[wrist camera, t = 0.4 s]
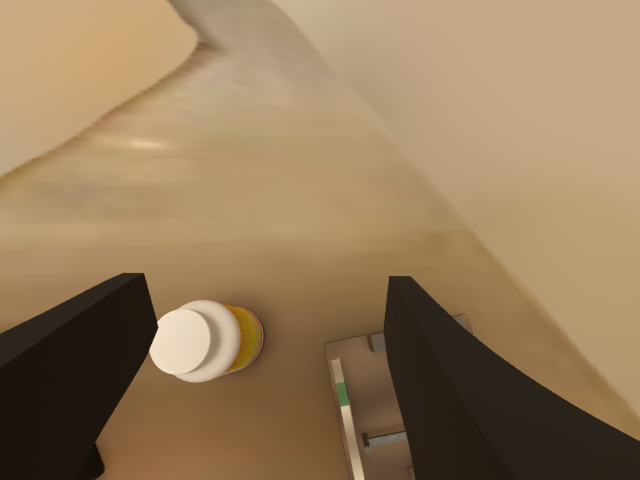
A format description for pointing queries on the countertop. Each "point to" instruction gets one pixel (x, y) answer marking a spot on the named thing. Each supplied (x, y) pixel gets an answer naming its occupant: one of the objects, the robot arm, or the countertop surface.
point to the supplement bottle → (206, 340)
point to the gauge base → (369, 406)
